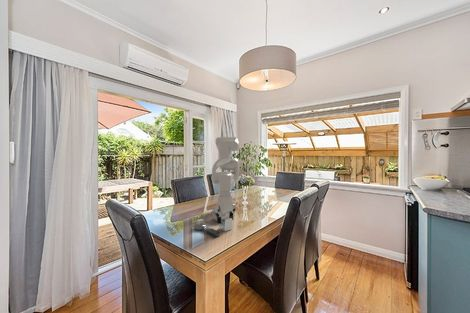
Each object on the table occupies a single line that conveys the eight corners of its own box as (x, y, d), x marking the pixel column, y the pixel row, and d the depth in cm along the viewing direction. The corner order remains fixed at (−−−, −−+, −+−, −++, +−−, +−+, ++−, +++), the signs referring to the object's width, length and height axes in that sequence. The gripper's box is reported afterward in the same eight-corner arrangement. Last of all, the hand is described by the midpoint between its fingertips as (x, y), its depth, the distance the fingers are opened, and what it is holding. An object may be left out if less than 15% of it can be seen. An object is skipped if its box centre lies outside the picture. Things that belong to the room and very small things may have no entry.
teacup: (223, 223, 137) (223, 211, 136) (209, 221, 140) (209, 210, 140) (231, 217, 150) (231, 206, 149) (217, 215, 153) (217, 205, 153)
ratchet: (222, 235, 118) (222, 225, 118) (211, 239, 113) (211, 229, 112) (202, 225, 133) (202, 217, 133) (191, 228, 128) (191, 219, 128)
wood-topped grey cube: (225, 226, 131) (225, 215, 131) (232, 229, 127) (232, 217, 127) (218, 228, 127) (218, 217, 127) (224, 231, 123) (224, 220, 123)
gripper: (231, 191, 135) (231, 217, 135) (210, 194, 123) (210, 223, 123) (239, 192, 129) (239, 219, 129) (217, 196, 118) (218, 226, 118)
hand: (225, 221), depth 126 cm, fingers open, 9 cm apart
